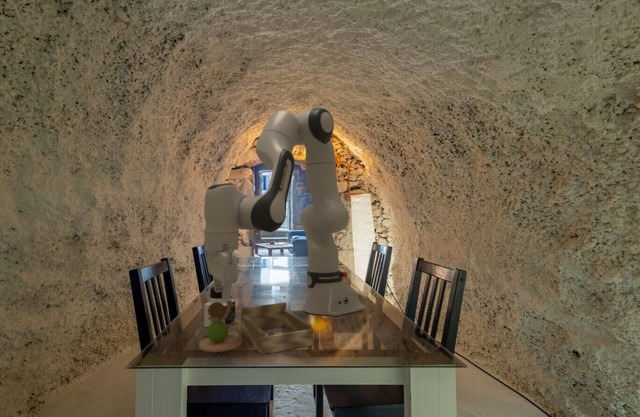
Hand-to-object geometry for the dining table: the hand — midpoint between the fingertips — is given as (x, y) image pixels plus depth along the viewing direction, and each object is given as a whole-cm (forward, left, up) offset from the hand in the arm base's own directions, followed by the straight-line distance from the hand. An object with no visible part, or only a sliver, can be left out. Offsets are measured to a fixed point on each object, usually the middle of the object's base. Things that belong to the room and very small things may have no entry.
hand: (221, 295), depth 95 cm
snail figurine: (+1, 0, -12) cm, 12 cm away
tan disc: (0, 0, -13) cm, 13 cm away
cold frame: (-14, +2, -13) cm, 19 cm away
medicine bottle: (-3, -18, -13) cm, 23 cm away
